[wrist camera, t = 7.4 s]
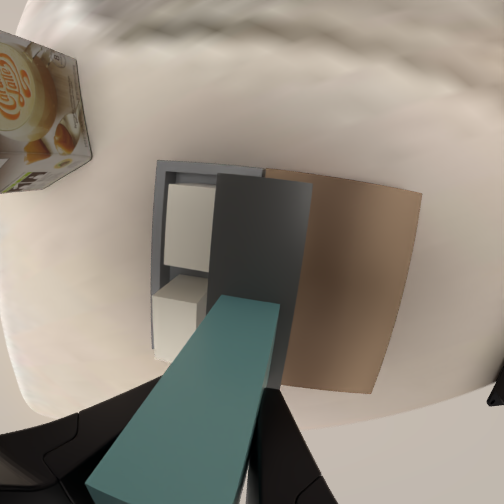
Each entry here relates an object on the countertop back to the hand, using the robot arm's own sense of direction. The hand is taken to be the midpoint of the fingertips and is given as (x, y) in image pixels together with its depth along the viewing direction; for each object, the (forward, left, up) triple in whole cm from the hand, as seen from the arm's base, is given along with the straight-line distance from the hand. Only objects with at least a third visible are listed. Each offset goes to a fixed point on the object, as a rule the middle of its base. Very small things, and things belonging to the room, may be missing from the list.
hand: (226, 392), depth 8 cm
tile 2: (+3, +3, -9) cm, 10 cm away
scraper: (0, 0, -5) cm, 5 cm away
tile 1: (+3, -3, -9) cm, 10 cm away
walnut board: (-3, 0, -12) cm, 12 cm away
